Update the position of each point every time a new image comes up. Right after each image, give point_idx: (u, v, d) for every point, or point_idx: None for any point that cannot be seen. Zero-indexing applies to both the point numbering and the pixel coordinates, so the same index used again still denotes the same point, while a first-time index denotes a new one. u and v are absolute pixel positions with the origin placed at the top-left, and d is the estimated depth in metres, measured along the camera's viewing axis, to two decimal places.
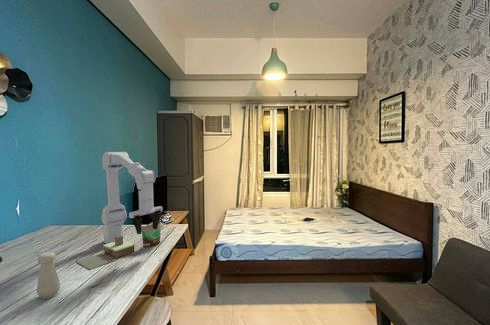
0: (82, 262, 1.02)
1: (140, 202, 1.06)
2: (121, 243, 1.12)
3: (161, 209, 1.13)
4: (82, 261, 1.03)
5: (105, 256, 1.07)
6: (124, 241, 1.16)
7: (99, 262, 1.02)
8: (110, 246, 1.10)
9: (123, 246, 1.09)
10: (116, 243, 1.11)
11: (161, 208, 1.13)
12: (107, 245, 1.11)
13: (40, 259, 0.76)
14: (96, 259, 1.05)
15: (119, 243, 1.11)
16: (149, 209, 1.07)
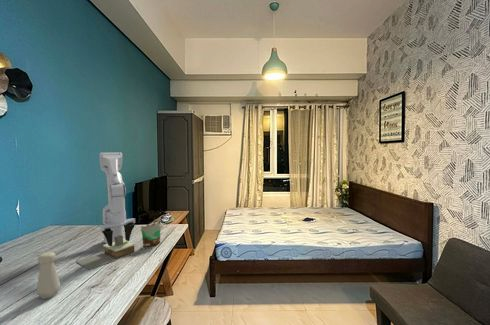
0: (82, 262, 1.02)
1: (111, 215, 1.09)
2: (121, 243, 1.12)
3: (134, 221, 1.16)
4: (82, 261, 1.03)
5: (105, 256, 1.07)
6: (124, 241, 1.16)
7: (99, 262, 1.02)
8: (110, 246, 1.10)
9: (123, 246, 1.09)
10: (116, 243, 1.11)
11: (133, 220, 1.16)
12: (107, 245, 1.11)
13: (40, 259, 0.76)
14: (96, 259, 1.05)
15: (119, 243, 1.11)
16: (120, 222, 1.10)
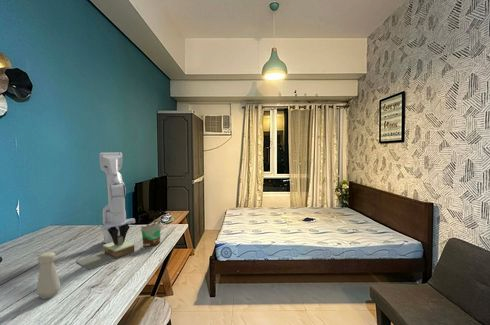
0: (82, 262, 1.02)
1: (111, 215, 1.09)
2: (121, 243, 1.12)
3: (133, 221, 1.16)
4: (82, 261, 1.03)
5: (105, 256, 1.07)
6: (124, 241, 1.16)
7: (99, 262, 1.02)
8: (110, 246, 1.10)
9: (123, 246, 1.09)
10: None
11: (133, 220, 1.16)
12: (107, 245, 1.11)
13: (40, 259, 0.76)
14: (96, 259, 1.05)
15: (119, 243, 1.11)
16: (120, 222, 1.10)
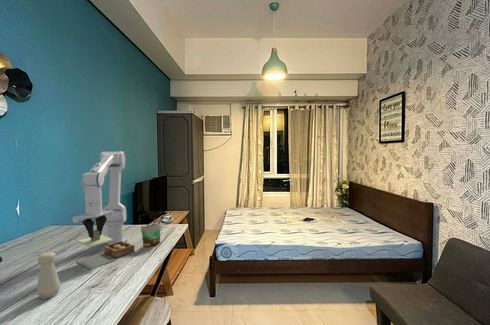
0: (82, 262, 1.02)
1: (86, 206, 1.00)
2: (98, 238, 1.03)
3: (112, 213, 1.07)
4: (82, 261, 1.03)
5: (105, 256, 1.07)
6: (102, 236, 1.07)
7: (99, 262, 1.02)
8: (85, 241, 1.01)
9: (99, 241, 1.00)
10: (92, 238, 1.02)
11: (112, 212, 1.07)
12: (82, 240, 1.02)
13: (40, 259, 0.76)
14: (96, 259, 1.05)
15: (95, 238, 1.02)
16: (96, 213, 1.01)
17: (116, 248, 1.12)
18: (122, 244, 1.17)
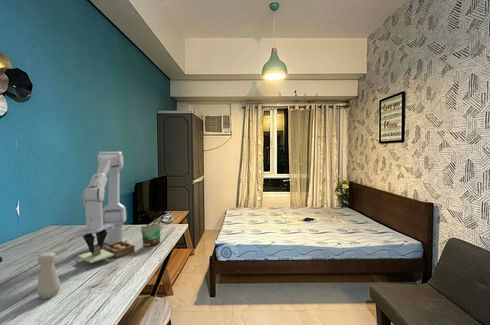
0: (82, 262, 1.02)
1: (87, 221, 1.00)
2: (98, 253, 1.03)
3: (112, 227, 1.08)
4: (82, 261, 1.03)
5: None
6: (102, 251, 1.07)
7: (99, 262, 1.02)
8: (86, 257, 1.01)
9: (100, 257, 1.01)
10: (93, 253, 1.02)
11: (112, 226, 1.08)
12: (83, 256, 1.02)
13: (40, 259, 0.76)
14: None
15: (96, 253, 1.02)
16: (96, 228, 1.01)
17: (116, 248, 1.12)
18: (122, 244, 1.17)
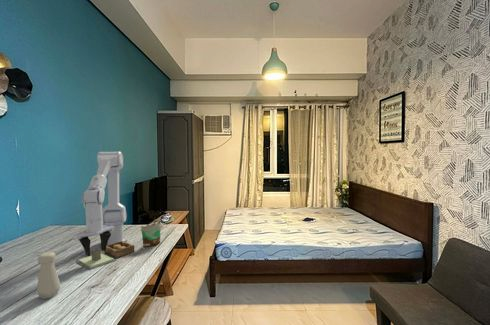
0: None
1: (87, 223, 1.00)
2: (98, 258, 1.03)
3: (113, 229, 1.08)
4: None
5: None
6: (102, 255, 1.07)
7: None
8: (86, 261, 1.01)
9: (100, 261, 1.01)
10: (93, 258, 1.02)
11: (113, 228, 1.08)
12: (83, 260, 1.02)
13: (40, 259, 0.76)
14: None
15: (96, 258, 1.02)
16: (97, 230, 1.01)
17: (116, 248, 1.12)
18: (122, 244, 1.17)
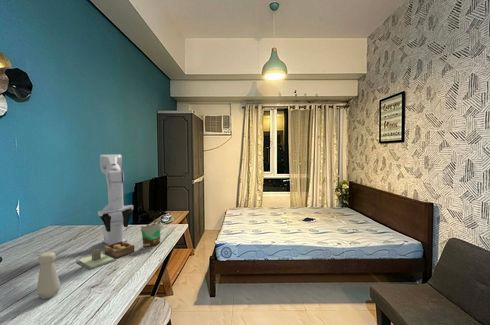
0: None
1: (109, 201, 1.09)
2: (98, 258, 1.03)
3: (132, 208, 1.17)
4: None
5: None
6: (102, 255, 1.07)
7: None
8: (86, 261, 1.01)
9: (100, 261, 1.01)
10: (93, 258, 1.02)
11: (132, 207, 1.17)
12: (83, 260, 1.02)
13: (40, 259, 0.76)
14: None
15: (96, 258, 1.02)
16: (118, 207, 1.10)
17: (116, 248, 1.12)
18: (122, 244, 1.17)
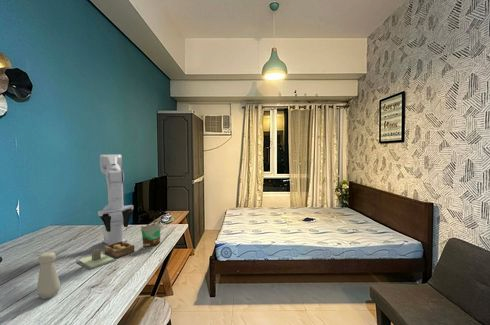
0: None
1: (109, 201, 1.09)
2: (98, 258, 1.03)
3: (132, 208, 1.17)
4: None
5: None
6: (102, 255, 1.07)
7: None
8: (86, 261, 1.01)
9: (100, 261, 1.01)
10: (93, 258, 1.02)
11: (132, 207, 1.17)
12: (83, 260, 1.02)
13: (40, 259, 0.76)
14: None
15: (96, 258, 1.02)
16: (118, 207, 1.10)
17: (116, 248, 1.12)
18: (122, 244, 1.17)
